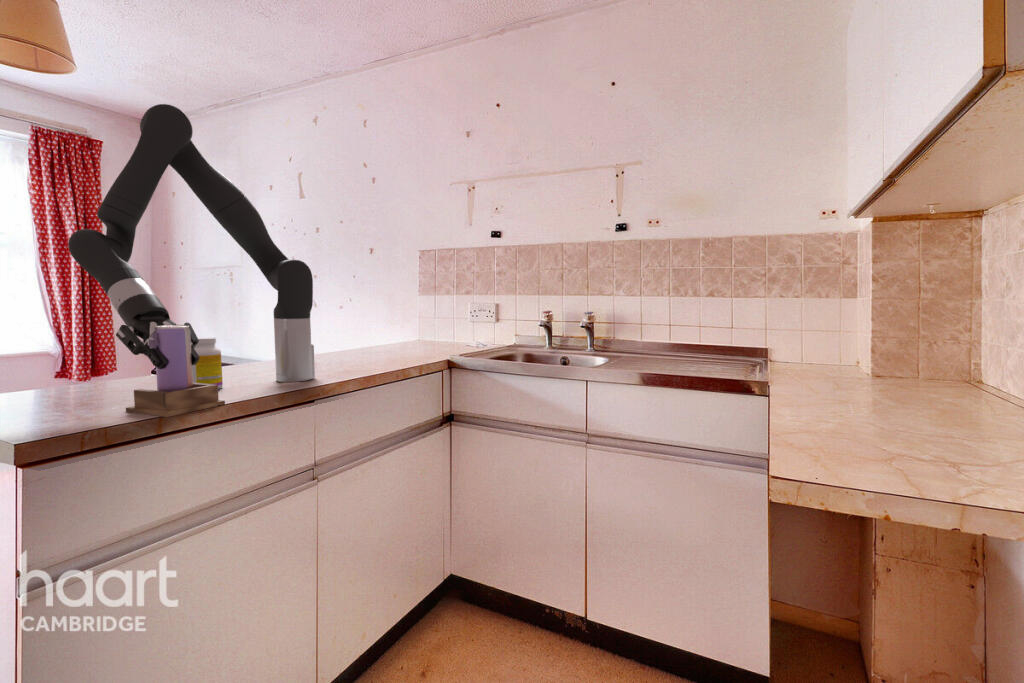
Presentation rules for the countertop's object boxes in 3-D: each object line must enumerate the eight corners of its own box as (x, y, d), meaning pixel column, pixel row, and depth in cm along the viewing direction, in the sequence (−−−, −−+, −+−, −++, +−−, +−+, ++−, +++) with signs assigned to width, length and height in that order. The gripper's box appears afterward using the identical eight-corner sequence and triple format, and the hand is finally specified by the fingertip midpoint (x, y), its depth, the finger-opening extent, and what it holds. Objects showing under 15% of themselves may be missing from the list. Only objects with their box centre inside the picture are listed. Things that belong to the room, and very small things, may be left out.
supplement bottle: (228, 388, 120) (226, 337, 119) (202, 392, 114) (199, 339, 113) (211, 386, 123) (209, 336, 122) (185, 390, 117) (182, 338, 116)
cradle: (185, 400, 106) (184, 380, 105) (224, 404, 102) (223, 384, 101) (125, 411, 95) (124, 390, 94) (167, 416, 90) (165, 394, 90)
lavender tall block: (175, 402, 94) (171, 327, 93) (150, 401, 96) (146, 326, 94) (200, 396, 100) (197, 325, 99) (176, 395, 101) (173, 325, 100)
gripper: (106, 291, 92) (150, 355, 89) (180, 293, 105) (221, 348, 102) (90, 318, 94) (133, 381, 91) (165, 316, 108) (205, 371, 105)
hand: (180, 364), depth 97 cm, fingers closed on lavender tall block, 6 cm apart
